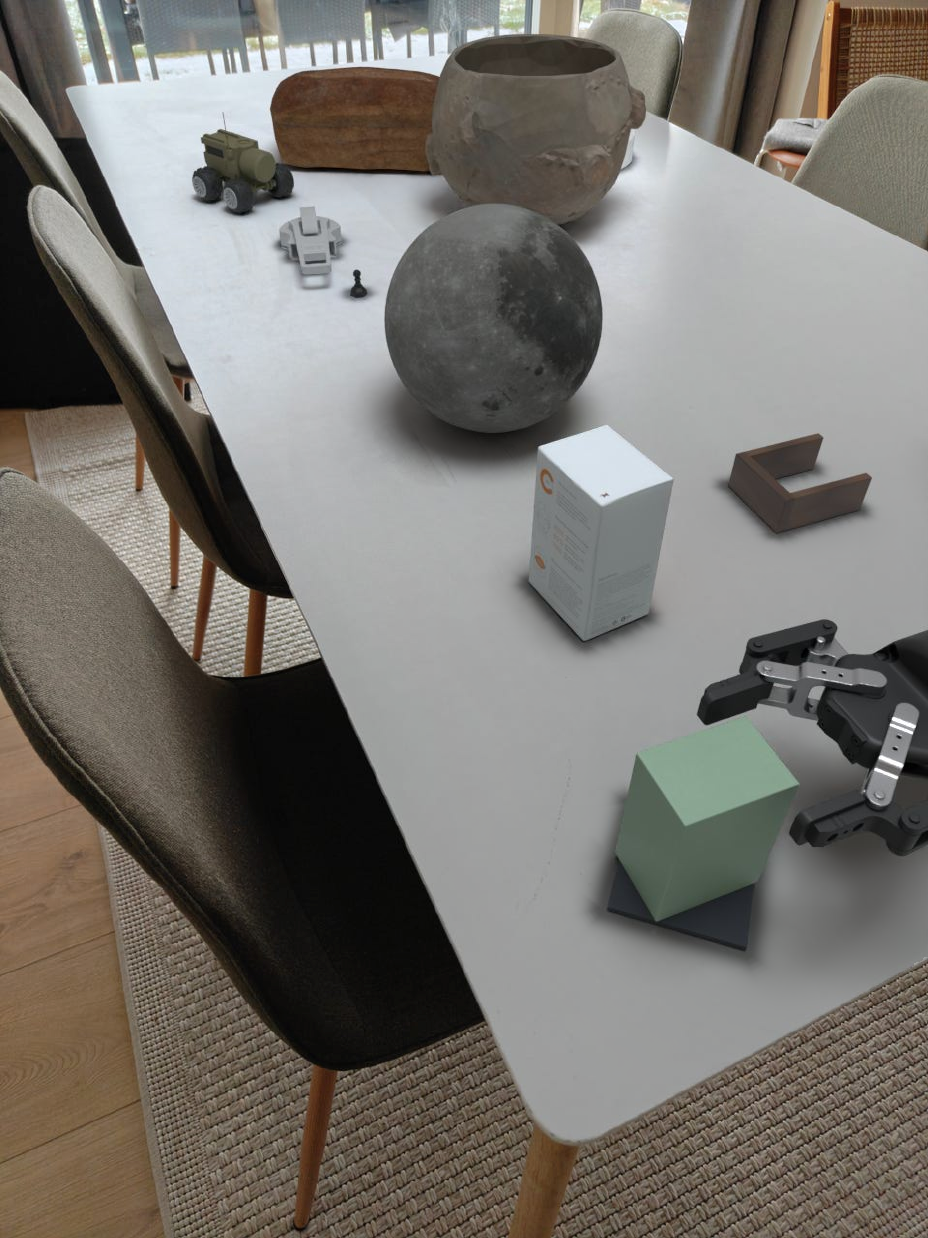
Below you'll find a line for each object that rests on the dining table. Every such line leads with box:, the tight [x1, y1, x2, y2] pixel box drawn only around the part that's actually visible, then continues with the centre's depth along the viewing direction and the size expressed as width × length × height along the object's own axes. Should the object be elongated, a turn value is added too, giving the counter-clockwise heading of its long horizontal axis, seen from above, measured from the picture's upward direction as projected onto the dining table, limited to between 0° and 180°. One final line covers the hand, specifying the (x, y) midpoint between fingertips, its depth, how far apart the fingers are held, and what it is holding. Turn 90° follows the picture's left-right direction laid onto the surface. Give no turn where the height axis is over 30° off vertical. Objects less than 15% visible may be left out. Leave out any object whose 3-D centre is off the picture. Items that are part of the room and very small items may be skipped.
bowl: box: [426, 33, 647, 226], centre depth 122 cm, size 27×29×20 cm
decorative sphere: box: [383, 204, 604, 434], centre depth 86 cm, size 20×20×20 cm
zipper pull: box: [278, 206, 343, 275], centre depth 117 cm, size 8×18×4 cm, turn 10°
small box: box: [528, 424, 675, 642], centre depth 70 cm, size 8×6×13 cm
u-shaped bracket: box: [727, 432, 873, 534], centre depth 82 cm, size 9×7×4 cm
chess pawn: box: [349, 269, 368, 298], centre depth 111 cm, size 2×2×3 cm
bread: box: [269, 66, 440, 172], centre depth 141 cm, size 14×28×12 cm, turn 86°
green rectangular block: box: [614, 715, 800, 922], centre depth 53 cm, size 7×5×10 cm
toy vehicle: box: [191, 113, 295, 215], centre depth 130 cm, size 10×11×12 cm
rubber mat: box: [607, 859, 755, 951], centre depth 57 cm, size 8×8×1 cm
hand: (746, 766), depth 50 cm, fingers open, 8 cm apart
